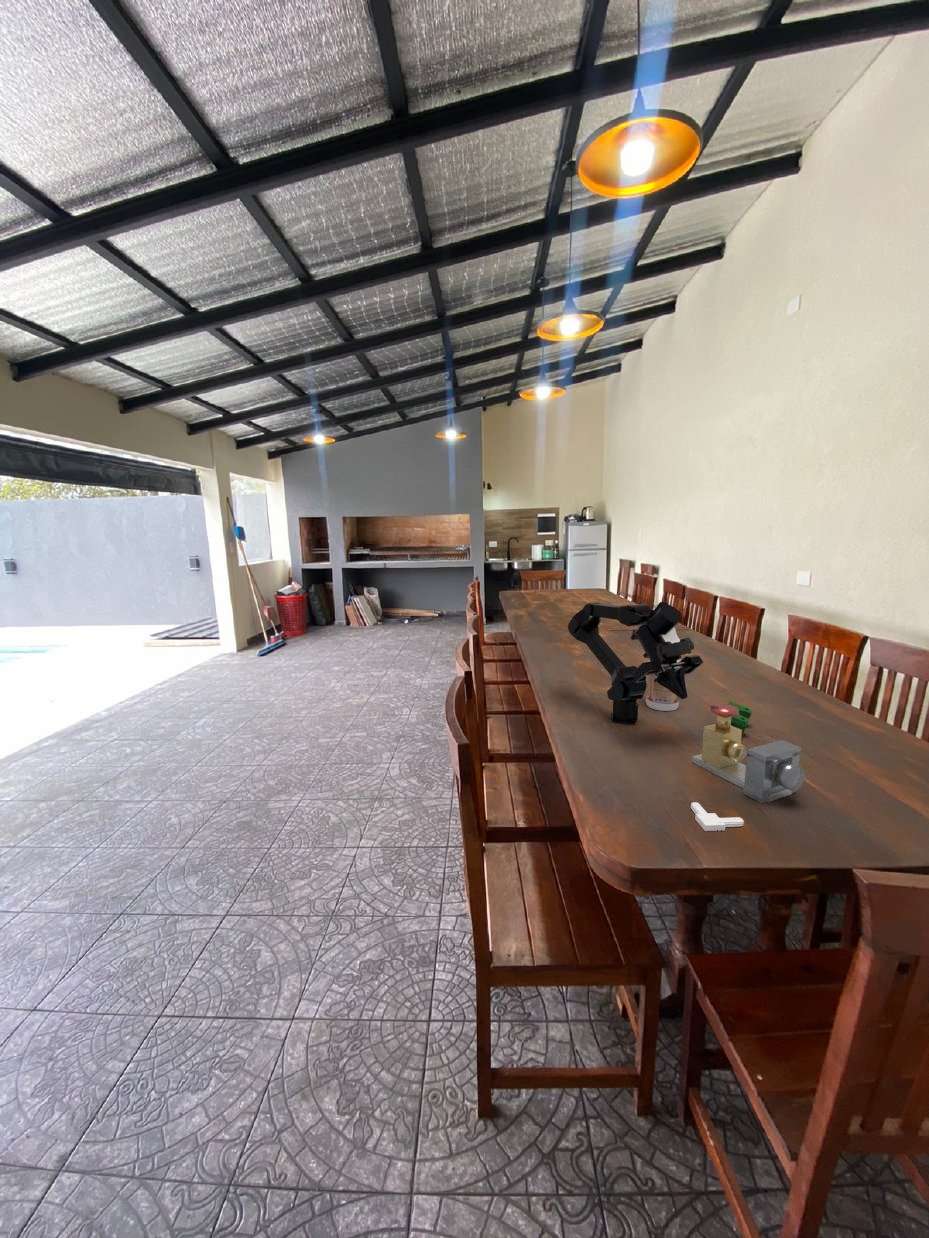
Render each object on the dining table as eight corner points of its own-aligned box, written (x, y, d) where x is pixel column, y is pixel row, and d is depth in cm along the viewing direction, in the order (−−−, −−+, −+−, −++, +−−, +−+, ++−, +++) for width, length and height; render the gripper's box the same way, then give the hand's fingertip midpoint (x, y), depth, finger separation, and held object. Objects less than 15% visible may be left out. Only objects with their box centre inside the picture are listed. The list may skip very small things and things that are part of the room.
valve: (700, 758, 116) (704, 706, 114) (718, 753, 118) (723, 702, 116) (729, 773, 109) (734, 717, 107) (748, 767, 111) (753, 713, 109)
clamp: (736, 749, 134) (746, 727, 128) (712, 739, 137) (721, 717, 131) (747, 721, 141) (757, 698, 135) (725, 712, 144) (733, 689, 138)
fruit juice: (639, 702, 157) (644, 614, 152) (665, 699, 160) (670, 613, 154) (658, 713, 148) (663, 620, 143) (685, 709, 151) (691, 618, 145)
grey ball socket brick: (686, 763, 117) (689, 723, 115) (718, 755, 121) (722, 716, 119) (775, 810, 97) (781, 763, 96) (810, 798, 101) (816, 753, 100)
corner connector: (724, 807, 100) (724, 800, 99) (747, 831, 92) (748, 823, 91) (684, 808, 99) (685, 801, 99) (704, 833, 91) (705, 825, 91)
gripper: (643, 631, 121) (675, 688, 113) (700, 624, 128) (734, 677, 120) (619, 655, 129) (648, 709, 121) (674, 647, 136) (704, 698, 128)
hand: (684, 698), depth 123 cm, fingers closed
